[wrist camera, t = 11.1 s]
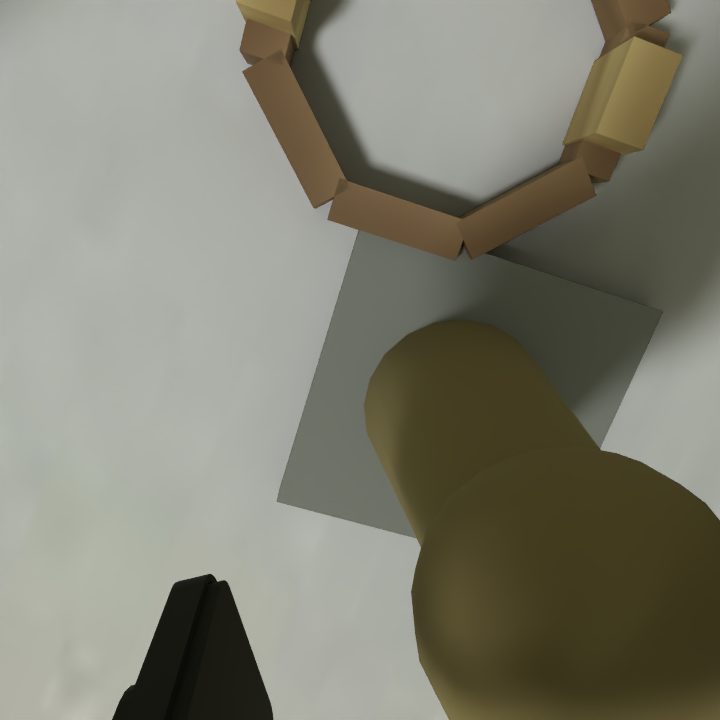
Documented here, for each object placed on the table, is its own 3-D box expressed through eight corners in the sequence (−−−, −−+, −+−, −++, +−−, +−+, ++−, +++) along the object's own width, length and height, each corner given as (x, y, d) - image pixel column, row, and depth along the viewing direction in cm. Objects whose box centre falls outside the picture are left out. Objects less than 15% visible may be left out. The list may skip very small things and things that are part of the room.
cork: (405, 291, 16) (522, 425, 6) (576, 357, 17) (963, 583, 6) (337, 459, 18) (330, 818, 7) (499, 513, 18) (712, 912, 8)
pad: (279, 490, 19) (276, 501, 18) (363, 213, 16) (364, 213, 16) (535, 557, 20) (543, 571, 19) (649, 307, 18) (663, 311, 17)
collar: (215, 182, 16) (196, 177, 14) (316, -248, 13) (311, -335, 11) (550, 291, 17) (579, 301, 15) (701, -84, 15) (762, -136, 13)
